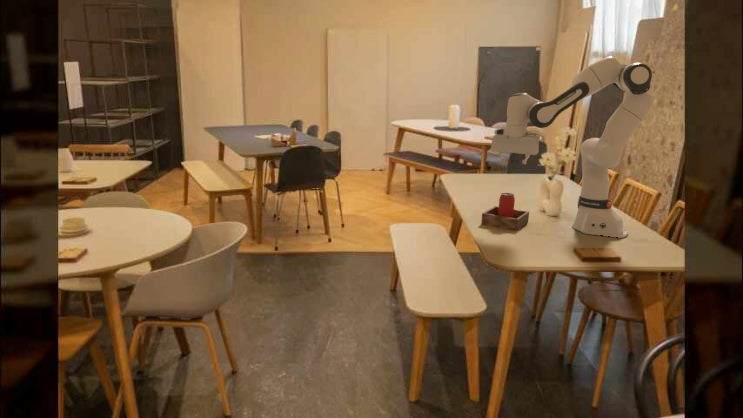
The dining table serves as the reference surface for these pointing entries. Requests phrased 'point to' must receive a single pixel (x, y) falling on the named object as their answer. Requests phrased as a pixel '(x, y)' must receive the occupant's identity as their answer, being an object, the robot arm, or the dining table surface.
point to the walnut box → (505, 219)
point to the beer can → (506, 205)
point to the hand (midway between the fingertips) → (513, 163)
